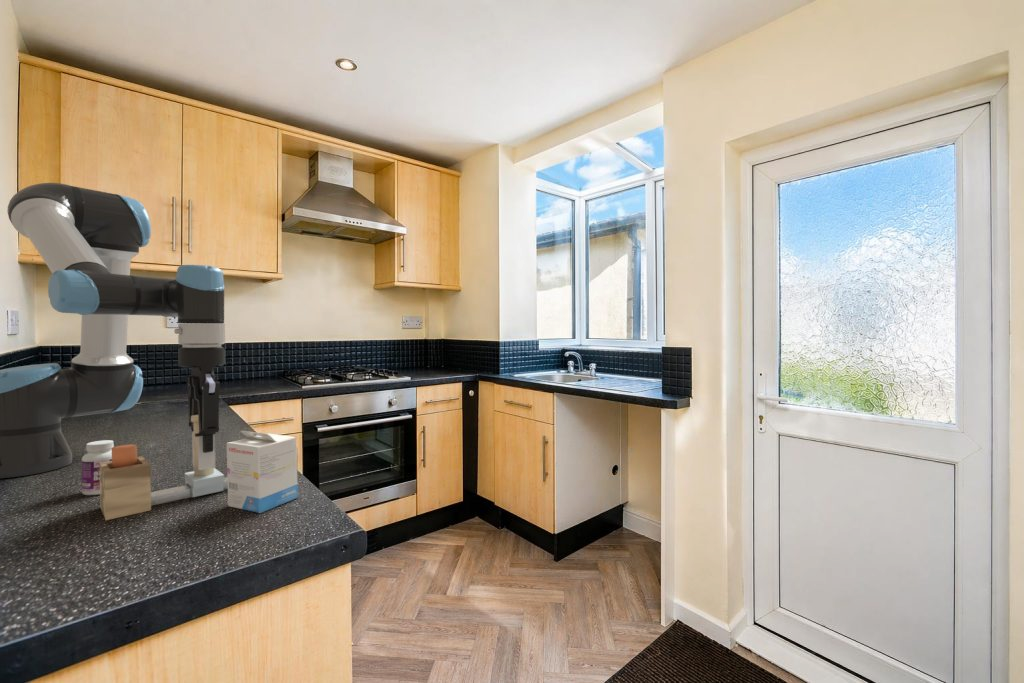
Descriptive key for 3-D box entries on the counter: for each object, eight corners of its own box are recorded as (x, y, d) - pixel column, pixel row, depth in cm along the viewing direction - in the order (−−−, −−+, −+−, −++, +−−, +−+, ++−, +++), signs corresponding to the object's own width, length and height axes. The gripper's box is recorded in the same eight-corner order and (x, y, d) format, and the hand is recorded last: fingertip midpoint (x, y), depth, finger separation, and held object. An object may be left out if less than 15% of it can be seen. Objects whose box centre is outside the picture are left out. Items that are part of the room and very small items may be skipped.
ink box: (299, 498, 87) (298, 427, 87) (258, 514, 80) (257, 437, 79) (268, 491, 91) (267, 423, 90) (226, 506, 83) (225, 432, 83)
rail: (144, 499, 86) (143, 483, 86) (235, 480, 97) (235, 466, 97) (150, 508, 82) (149, 491, 82) (245, 487, 93) (244, 472, 93)
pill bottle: (96, 497, 87) (95, 446, 87) (74, 494, 88) (73, 444, 88) (125, 487, 93) (124, 439, 92) (104, 485, 94) (103, 438, 93)
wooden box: (100, 507, 82) (99, 462, 82) (143, 498, 87) (142, 456, 86) (105, 520, 77) (104, 472, 77) (151, 510, 81) (150, 464, 81)
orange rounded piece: (110, 466, 81) (110, 447, 81) (135, 462, 84) (135, 443, 84) (113, 470, 79) (112, 450, 79) (138, 466, 82) (138, 446, 81)
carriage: (184, 489, 91) (183, 414, 91) (214, 483, 95) (213, 411, 94) (193, 498, 86) (192, 419, 86) (224, 491, 90) (223, 415, 89)
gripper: (168, 345, 92) (170, 462, 93) (189, 347, 81) (191, 480, 82) (212, 344, 98) (214, 454, 98) (237, 346, 87) (239, 470, 87)
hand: (203, 466), depth 90 cm, fingers closed on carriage, 3 cm apart
